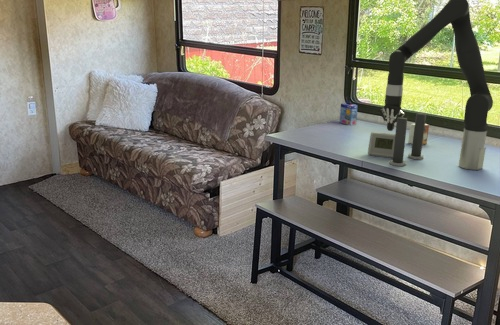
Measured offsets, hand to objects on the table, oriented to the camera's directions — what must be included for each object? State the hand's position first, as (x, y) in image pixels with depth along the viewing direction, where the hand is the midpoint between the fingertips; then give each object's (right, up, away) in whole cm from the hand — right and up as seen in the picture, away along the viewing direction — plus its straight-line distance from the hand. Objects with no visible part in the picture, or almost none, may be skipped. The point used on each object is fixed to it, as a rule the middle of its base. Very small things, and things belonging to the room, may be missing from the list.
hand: (390, 130), depth 235 cm
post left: (0, -16, -11) cm, 19 cm away
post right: (+12, -13, +1) cm, 18 cm away
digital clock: (-2, -12, +2) cm, 13 cm away
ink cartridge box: (-6, +9, +74) cm, 75 cm away
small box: (+22, -5, +28) cm, 36 cm away
